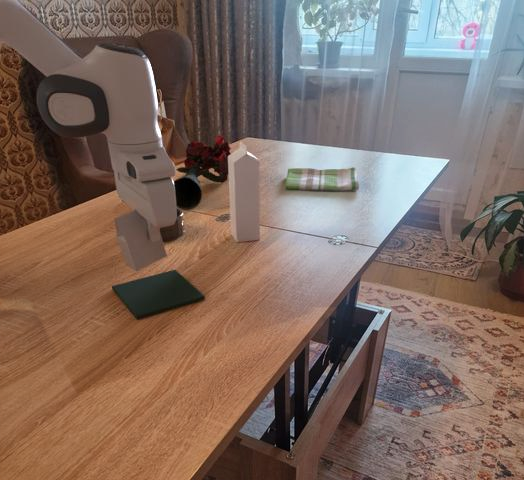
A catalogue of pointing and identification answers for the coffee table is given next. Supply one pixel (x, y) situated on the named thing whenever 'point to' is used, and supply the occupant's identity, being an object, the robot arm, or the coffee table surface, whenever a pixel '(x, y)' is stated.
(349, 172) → the dish towel
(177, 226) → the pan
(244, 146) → the milk
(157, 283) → the mat
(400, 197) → the coffee table surface
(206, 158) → the black vase with roses
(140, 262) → the white box
